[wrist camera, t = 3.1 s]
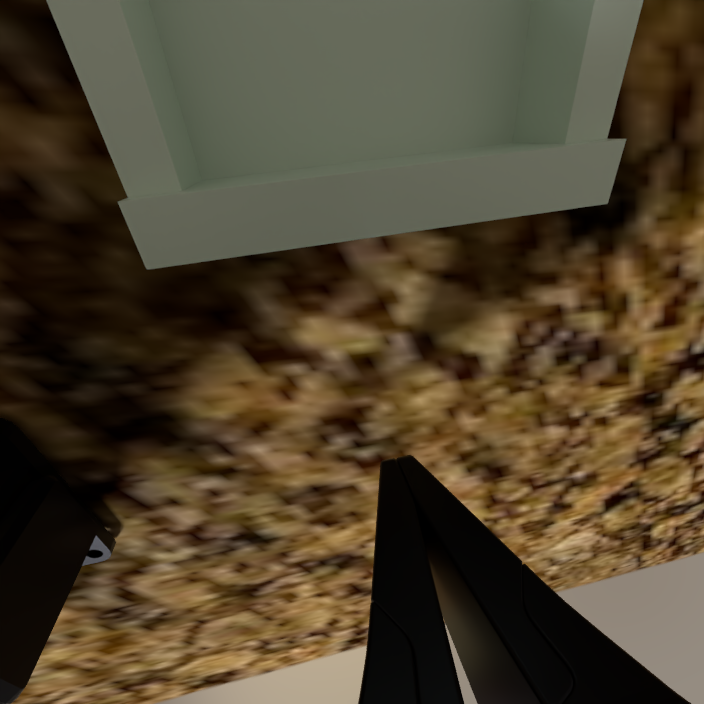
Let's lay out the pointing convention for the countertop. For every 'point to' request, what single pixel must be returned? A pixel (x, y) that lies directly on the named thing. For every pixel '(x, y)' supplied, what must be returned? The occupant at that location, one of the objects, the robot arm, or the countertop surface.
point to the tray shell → (346, 114)
